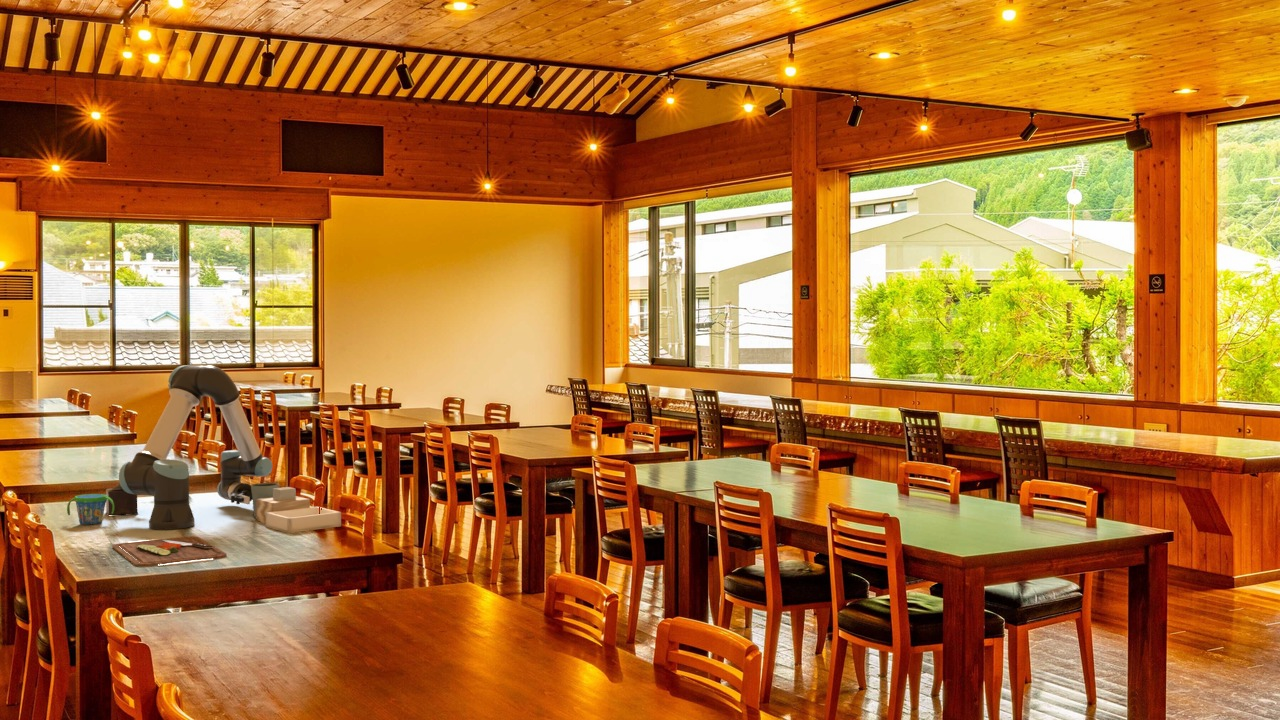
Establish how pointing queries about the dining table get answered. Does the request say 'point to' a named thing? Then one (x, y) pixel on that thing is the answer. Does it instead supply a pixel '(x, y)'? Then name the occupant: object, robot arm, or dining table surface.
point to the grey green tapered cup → (262, 492)
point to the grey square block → (284, 493)
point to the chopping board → (169, 551)
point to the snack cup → (90, 508)
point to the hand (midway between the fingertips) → (266, 498)
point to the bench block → (278, 506)
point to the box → (303, 519)
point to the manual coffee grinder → (121, 501)
